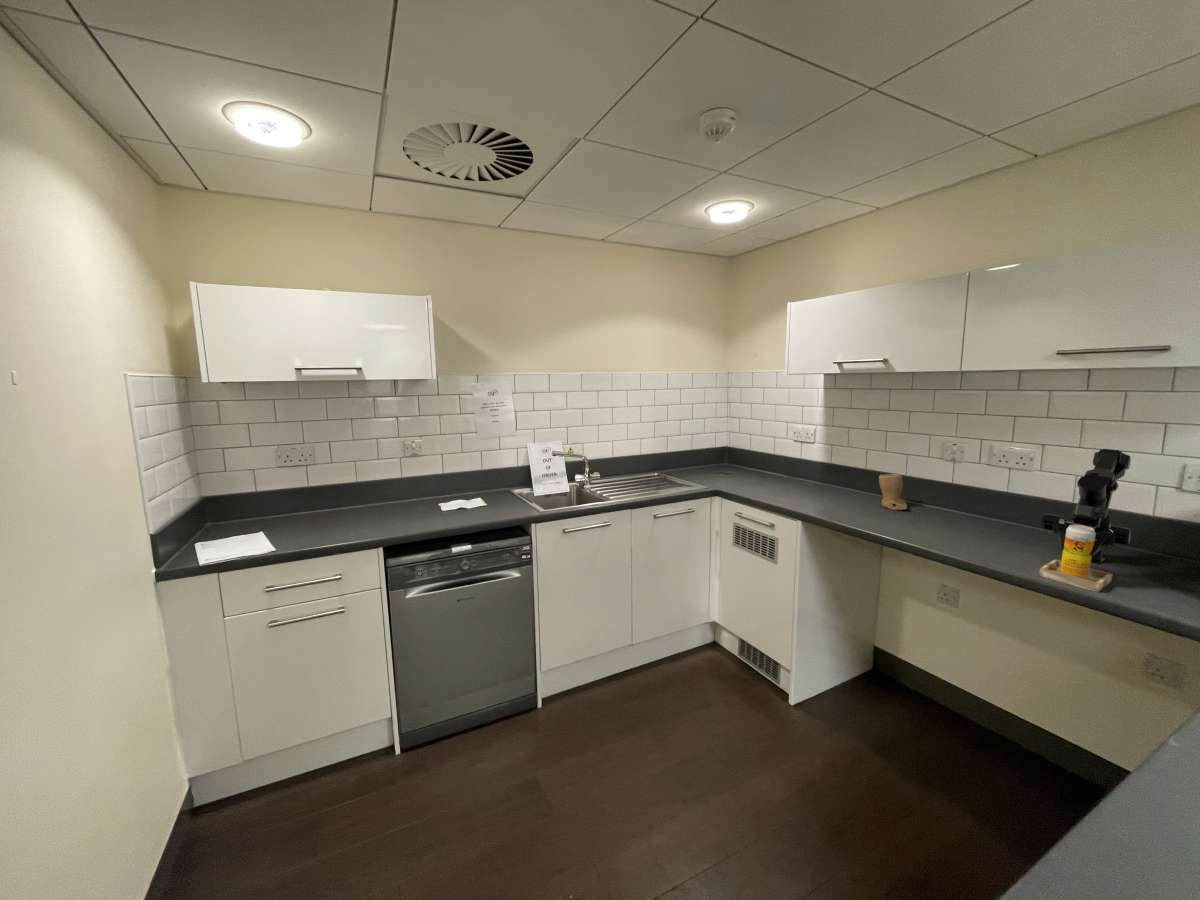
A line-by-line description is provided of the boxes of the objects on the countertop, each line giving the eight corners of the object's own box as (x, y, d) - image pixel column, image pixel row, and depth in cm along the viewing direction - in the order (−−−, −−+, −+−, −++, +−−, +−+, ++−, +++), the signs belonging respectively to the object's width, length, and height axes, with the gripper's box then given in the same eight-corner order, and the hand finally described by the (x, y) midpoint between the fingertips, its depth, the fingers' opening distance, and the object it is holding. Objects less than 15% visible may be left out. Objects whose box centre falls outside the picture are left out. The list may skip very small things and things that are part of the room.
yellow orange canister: (1061, 576, 143) (1069, 528, 141) (1057, 569, 148) (1065, 522, 145) (1089, 581, 140) (1098, 532, 137) (1085, 574, 144) (1093, 526, 142)
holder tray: (1053, 566, 154) (1055, 559, 153) (1111, 581, 143) (1113, 573, 143) (1038, 575, 147) (1040, 568, 147) (1098, 592, 136) (1099, 584, 136)
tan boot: (876, 500, 231) (879, 470, 228) (905, 504, 225) (909, 472, 222) (875, 508, 218) (879, 476, 216) (906, 512, 212) (910, 479, 210)
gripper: (1047, 488, 149) (1032, 529, 145) (1136, 501, 135) (1123, 547, 130) (1049, 507, 155) (1035, 548, 151) (1135, 522, 141) (1122, 567, 136)
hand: (1076, 552), depth 142 cm, fingers closed on yellow orange canister, 6 cm apart
